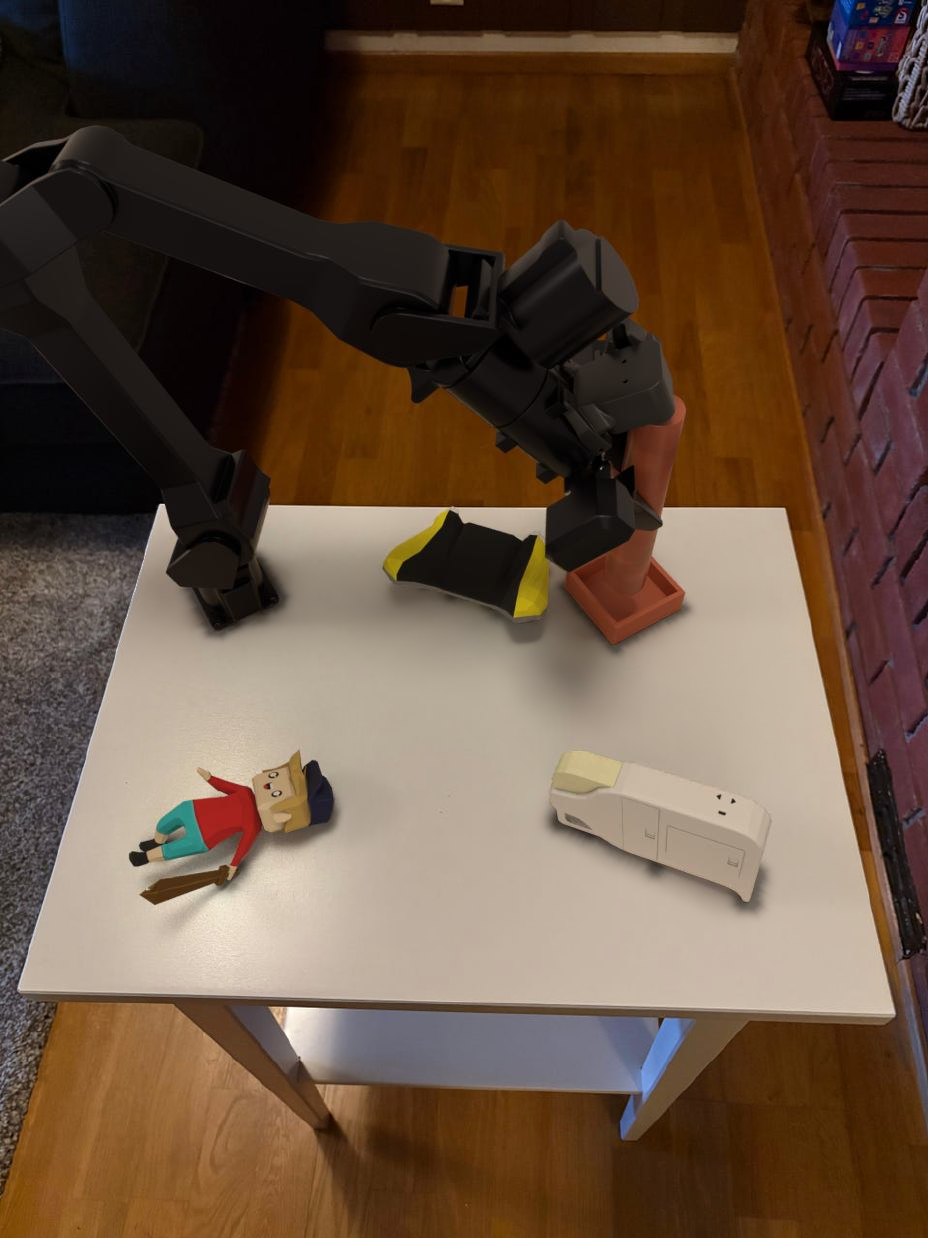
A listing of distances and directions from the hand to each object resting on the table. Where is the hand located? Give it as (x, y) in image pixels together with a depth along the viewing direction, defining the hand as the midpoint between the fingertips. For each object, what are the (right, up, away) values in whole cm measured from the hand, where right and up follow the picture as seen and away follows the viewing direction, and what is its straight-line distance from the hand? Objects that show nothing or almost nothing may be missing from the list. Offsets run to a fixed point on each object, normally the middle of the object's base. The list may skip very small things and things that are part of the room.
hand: (656, 508), depth 67 cm
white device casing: (-1, -26, -1) cm, 26 cm away
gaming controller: (-14, -6, +13) cm, 20 cm away
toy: (-32, -26, 0) cm, 41 cm away
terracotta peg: (-1, -5, +8) cm, 9 cm away
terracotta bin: (0, -7, +12) cm, 14 cm away
